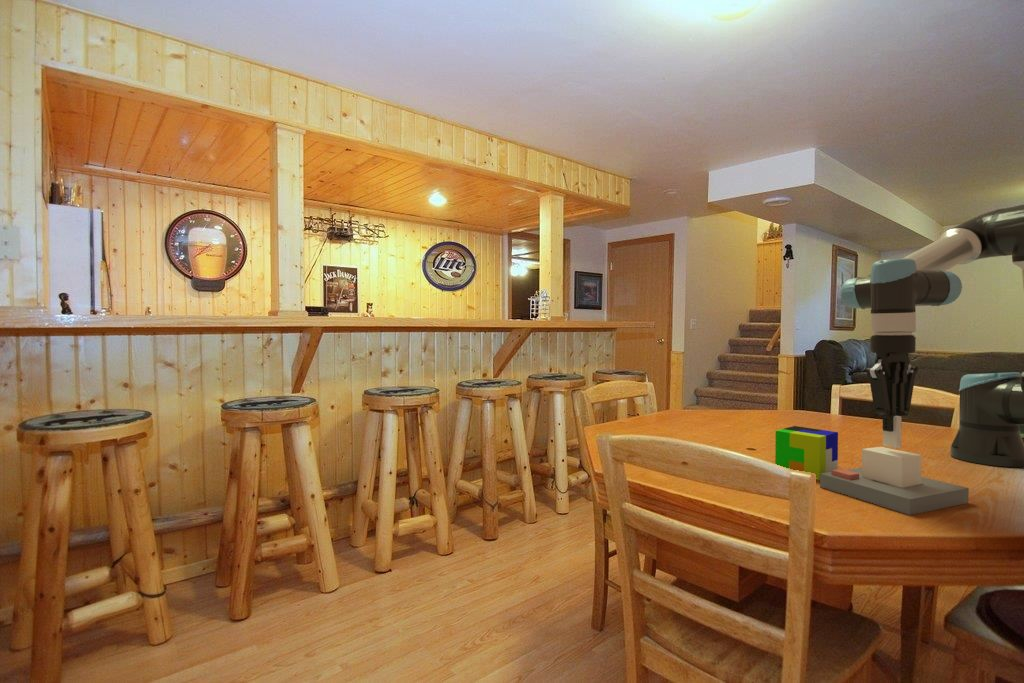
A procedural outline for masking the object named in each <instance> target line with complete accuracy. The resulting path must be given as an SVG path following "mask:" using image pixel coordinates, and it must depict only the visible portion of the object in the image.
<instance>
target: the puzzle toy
mask: <svg viewBox="0 0 1024 683" xmlns="http://www.w3.org/2000/svg"><path fill="white" fill-rule="evenodd" d="M774 450H775V452H774V453H775V456H774V457H775V464H777V465H780V466H783V467H786V468H790V469H793V470H799V471H805V472H811V473H815V474H816V478H817V480H816V481H820V474H821V473H828V472H831V470H836V469H839V466H838V464H839V463H838V462H839V460H838V459H839V432H838V431H832V430H825V429H818V428H812V427H804V426H798V425H793V426H789V427H786V428H785V427H784V428H781V429H777V430H775V449H774Z"/></svg>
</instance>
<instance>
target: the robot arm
mask: <svg viewBox="0 0 1024 683" xmlns="http://www.w3.org/2000/svg"><path fill="white" fill-rule="evenodd" d="M1007 256H1011V259H1012V264H1014V265H1015V266H1016V267H1018V268H1019V269H1021V274H1022V286H1023V287H1022V288H1023V290H1024V204H1019V205H1014V206H1009V207H1004V208H998V209H994V210H991V211H988V212H985V213H983V214H982V213H981V214H979V215H977V216H975V217H973V218H970V219H968V220H966V221H964V222H961V223H959V224H958V225H956V226H954V227H952V228H950V229H947V230H946V231H945V232H943V233H942V234H941V235H940V236H939V238H938V240H935V241H934V242H932V243H930V244H928V245H926V246H924V247H922V248H920V249H918V250H916V251H914V252H912V253H910V254H909V255H907V256H903V258H892V259H891V258H889V259H882V260H878V261H875V262H874V263H873V264H872V265H871V268H870V269H871V270H870V274H869V275H867V276H862V277H861V276H857V277H853V278H850V279H847V280H846V281H845V282H844V283H843V284H842V285H841V288H840V293H839V295H840V297H841V302H842V304H844V306H846V307H848V308H850V309H861V310H865V309H870V332H871V333H873V334H874V335H871V336H870V338H869V340H870V342H869V345H870V352H871V353H874V354H875V359H874V366H872V367H866V368H865V373H866V374H867V378H868V380H869V385H870V391H871V399H872V404H873V410H874V413H876V414H877V415H881V416H882V447H887V448H892V449H901V448H902V426H903V425H902V421H903V420H902V418H903V417H907V416H908V415H909V412H911V411H910V410H911V404H912V398H913V392H914V387H915V386H914V385H915V381H916V377H917V373H918V372H919V368H918V366H916V365H915V366H914V365H911V358H910V356H909V354H914V353H915V352H916V346H917V344H916V339H917V338H916V336H915V335H914V334H913V333H915V332H916V331H917V321H916V318H917V316H916V307H921V306H922V307H925V306H930V307H940V306H946V305H950V304H952V303H953V302H955V301H956V300H957V299H958V298H959V297H960V295H961V294H962V290H963V283H962V281H961V278H960V277H959V275H957V274H956V273H954V272H951V271H949V270H950V269H952V268H954V267H955V266H957V265H960V266H961V265H962V266H963V265H967V264H970V263H972V262H974V261H977V260H980V259H981V260H982V259H987V258H994V257H995V258H997V257H1007ZM958 392H959V410H958V411H959V428H958V430H957V432H956V435H955V437H954V439H953V441H952V443H951V445H950V452H949V453H950V456H951V457H952V458H955V459H958V460H960V461H965V462H969V463H974V464H980V465H987V466H988V465H989V466H994V467H1006V468H1007V467H1009V468H1022V467H1023V468H1024V440H1023V437H1022V435H1021V426H1024V371H1022V372H1021V373H1020V372H1018V371H1017V372H1016V371H1015V372H1013V371H1012V372H992V373H991V372H990V373H970V374H969V373H968V374H965V375H962V376H961V378H960V382H959V389H958Z"/></svg>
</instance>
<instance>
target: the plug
mask: <svg viewBox="0 0 1024 683" xmlns="http://www.w3.org/2000/svg"><path fill="white" fill-rule="evenodd" d="M861 467H862V477H864V478H868V479H872V480H875V481H878V482H880V483H883V484H887V485H888V484H890V485H894V486H898V487H901V488H902V487H908V486H916V485H919V484H921V477H922V454H918V453H914V452H908V451H904V450H898V449H896V448H891V447H886V446H874V447H867V448H862V449H861Z"/></svg>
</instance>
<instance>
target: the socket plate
mask: <svg viewBox="0 0 1024 683" xmlns="http://www.w3.org/2000/svg"><path fill="white" fill-rule="evenodd" d="M819 487H820V488H821V487H822V489H824V488H825V490H828V491H831V492H834V493H837V494H840V493H841V494H840V495H844V494H845V495H844V496H847V495H848V496H847V497H850V496H851V498H853V497H854V498H853V499H856V498H858V499H857V500H859V499H860V500H859V501H863V500H864V501H863V502H866V501H867V502H866V503H869V502H870V504H872V503H873V505H875V504H876V506H879V507H883V508H885V509H889V510H892V511H895V512H897V513H901V514H904V515H908V516H912V515H917V514H922V513H927V512H931V511H936V510H940V509H946V508H950V507H956V506H959V505H960V506H961V505H964V504H965V505H966V504H969V493H970V492H969V489H970V488H969V487H967V486H962V485H958V484H954V483H949V482H945V481H941V480H937V479H933V478H929V477H924V476H921V484H919V485H916V486H908V487H902V488H901V487H898V486H894V485H890V484H888V485H887V484H883V483H880V482H878V481H875V480H872V479H868V478H864V477H862V466H861V467H856V468H850V469H849V468H848V469H844V468H838V469H836V470H831V472H828V473H821V474H820V480H819Z"/></svg>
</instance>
